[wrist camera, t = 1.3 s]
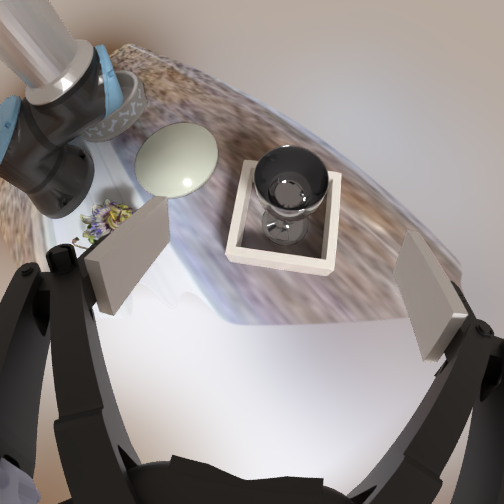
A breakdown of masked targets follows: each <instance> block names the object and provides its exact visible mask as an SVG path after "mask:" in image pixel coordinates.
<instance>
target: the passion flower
mask: <svg viewBox="0 0 504 504" xmlns="http://www.w3.org/2000/svg"><path fill="white" fill-rule="evenodd" d="M132 213H133V212H132V208H129V207H128V206H127V205H123V203H122V205H121V204H117V203H116V202H115V203H114V202H112V203H111V202H110V200H108V199H106V200H105V204H103V206H101V205H97V204H94V205H93V208H92V214H93V215H94V216H90V217H89V216H87V217H86V216H84V215H82V214H81V215H80V218H81V220H82V222H84V223H85V224H90V225H88V227H87V231H84V232H83V237H86V238H89V239H88V240H89V241H90V242H91V243H92V244H94V243H95V242H96V241H97V240H98V239H99V238H100V237H102V236H104V235H106V234H108V233H112V232H113V231H114V230H115V229H116V228H118V227H119V226H120V225H121V224H122V223H123V222H124V221H126V220H127V219H128V218H129V217H130V216H131V215H132ZM78 240H79V238H77V237H76V238H75V239H73V241H72V243H73V245H74V246H77V247H79V248H83V249H89V248H85V247H81V246H78V245H75V244H74V243H76V241H78Z"/></svg>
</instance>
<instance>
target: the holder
mask: <svg viewBox="0 0 504 504" xmlns="http://www.w3.org/2000/svg"><path fill="white" fill-rule="evenodd" d="M257 163H258V161H253V160H244V162H243V167H242V172H241V177H240V181H239V186H238V191H237V196H236V201H235V206H234V211H233V216H232V221H231V226H230V231H229V236H228V241H227V247H226V252H225V255H226V256H227V258H228V259H229V261H230V262H235V263H242V264H248V265H255V266H261V267H268V268H275V269H281V270H288V271H295V272H302V273H309V274H315V275H322V276H328V275H329V274H330V273H331V272H332V271H334V266H335V256H336V246H337V234H338V222H339V207H340V190H341V173H337V172H331V171H328V175H329V184H328V188H327V192H326V193H327V201H326V213H325V224H324V234H323V244H322V253H321V259H317V258H310V257H303V256H297V255H290V254H283V253H276V252H270V251H263V250H256V249H249V248H243V247H241V244H242V238H243V233H244V227H245V222H246V216H247V211H248V205H249V200H250V195H251V189H252V184H253V183H254V172H255V168H256V165H257Z"/></svg>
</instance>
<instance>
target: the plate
mask: <svg viewBox="0 0 504 504" xmlns="http://www.w3.org/2000/svg"><path fill="white" fill-rule="evenodd" d="M217 163H218V148H217V144H216V141H215V139H214V137H213V136H212V134H211V133H210V132H209V131H208V130H207V129H205V128H204V127H202V126H200V125H197V124H193V123H177V124H172V125H169V126H166V127H164V128H162V129H160V130H158V131H157V132H155V133H154V134H153V135H151V136H150V137H149V138H148V139H147V140H146V141H145V143H144V144H143V145H142V147H141V148H140V150H139V152H138V154H137V157H136V161H135V174H136V177H137V180H138V182H139V183H140V185H141V186H142V187H143V188H144V189H145V190H146V191H147V192H148V193H150V194H151V195H153V196H165V197H167V199H174V198H180V197H183V196H186V195H189V194H191V193H193V192H194V191H196V190H198V189H199V188H200V187H202V186H203V185H204V184H205V183H206V182H207V181H208V180H209V178H210V177H211V176H212V174H213V173H214V171H215V169H216V166H217Z"/></svg>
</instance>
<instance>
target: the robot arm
mask: <svg viewBox="0 0 504 504" xmlns="http://www.w3.org/2000/svg"><path fill="white" fill-rule="evenodd" d="M0 59H1V61H2V62H4V63H5V64H6V65H7V66H8V67H9V68H10V69H11V70H12V71H13V72H14V73H15V74H16V75H17V76H18V77H19V78H20V79H21V80H22V81H23V82H24V83H25V84H26V89H25V95H26V97H25V98H23V99H22V100H21V98H20V97H19V96H16V95H12V96H10V97H8V98H7V99H5V100H4V101H3V102H2V103H1V104H0V177H1V178H3V179H4V180H6V181H7V182H9V183H11V184H12V185H14V186H15V187H17V188H19V189H20V190H22V191H23V192H25V193H26V194H27V195H28V196H29V198H30V199H31V201H32V202H33V204H34V205H35V206H36V208H37V209H38V210H39V211H40V212H41V213H42V214H44V215H45V216H47V217H49V218H52V219H58V218H62V217H65V216H67V215H68V214H70V213H71V212H73V211H74V210H75V209H76V208H77V207H78V206H79V205H80V204H81V202H82V201H83V200H84V198H85V197H86V195H87V193H88V191H89V189H90V187H91V184H92V181H93V176H94V165H93V161H92V159H91V158H90V156H89V155H88V154H87V153H86V152H85V151H84V150H82V149H81V148H78V147H76V146H73V145H70V144H67V143H68V142H70V141H71V140H73V139H74V138H76V137H77V136H79V135H80V134H82V133H83V132H85V131H86V130H88V129H89V128H91V127H92V126H94V125H95V124H97V123H99V122H100V121H102V120H103V119H106V118H107V117H108V116H109V115H110V114H111V113H113V112H114V111H116V110H117V109H119V108H120V107H121V106H122V104H123V101H124V96H123V93H122V90H121V87H120V85H119V82H118V79H117V77H116V74H115V72H114V69H113V66H112V63H111V61H110V58H109V55H108V53H107V50H106V48H105V46H104V45H98V46H95V47H92V45H91V44H90V43H89V42H88V41H86V40H82V39H81V40H80V39H78V40H74V38H73V37H72V36H71V34H70V32H69V31H68V29H67V28H66V26H65V25H64V23H63V22H62V20H61V19H60V17H59V16H58V14H57V13H56V11H55V10H54V8H53V7H52V5H51V3H50V2H49V0H0ZM169 241H170V231H169V217H168V199H167V197H165V196H154V197H153V198H152V199H150V200H149V201H148V202H147V203H146V204H144V205H143V206H142V207H141V208H140V209H138V210H137V211H136V212H135V213H134V214H132V215H131V216H130V217H129V218H128V219H127V220H126V221H124V222H123V223H122V224H121V225H120V226H119V227H118V228H116V229H115V230H114V231H113V232H112V233H108V234H106V235H104V236H102V237H100V238H99V239H98V240H97V241H96V242H95V243H94V244H93V245H91V246H90V247H89V249H87V250H86V251H85V252H84V253H83V254H82V255H81V256H80V257H79V258H77V257H76V253H75V249H74V247H73V245H71V244H60V245H57V246H55V247H53V248H51V249H50V250H49V251H48V252H47V254H46V259H47V262H48V265H49V268H50V271H51V272H41V270H40V267H39V265H38V264H37V263H35V262H31V263H26V264H24V265H22V266H21V267H20V268H18V270H17V271H16V272H15V274H14V276H13V278H12V280H11V282H10V284H9V286H8V288H7V290H6V292H5V294H4V296H3V298H2V300H1V303H0V504H37V503H38V502H40V499H41V496H40V492H39V491H38V490H37V489H36V486H35V484H34V481H33V480H32V479H33V474H34V468H35V459H36V440H37V424H38V414H39V405H40V395H41V389H42V381H43V376H44V370H45V364H46V359H47V354H48V349H49V344H50V340H51V355H52V366H53V376H54V385H55V392H56V400H57V406H58V412H59V419H58V420H55V421H54V432H55V437H56V443H57V447H58V451H59V455H60V460H61V463H62V467H63V471H64V475H65V478H66V481H67V484H68V487H69V491H70V494H71V497H72V498H70V499H68V500H66V501H63V502H61V503H58V504H432V502H433V500H434V499H435V497H436V496H437V494H438V492H439V491H440V489H441V487H442V482H443V481H442V480H441V479H440V475H441V472H442V471H443V469H444V467H445V465H446V464H447V462H448V460H449V458H450V456H451V454H452V452H453V450H454V448H455V446H456V444H457V442H458V440H459V438H460V436H461V434H462V431H463V429H464V427H465V425H466V422H467V420H468V417H469V415H470V413H471V410H472V408H473V412H472V418H471V425H470V430H469V436H468V441H467V446H466V450H465V455H464V459H463V463H462V467H461V471H460V475H459V479H458V482H457V485H456V489H455V492H454V495H453V498H452V501H451V503H450V504H504V339H502V338H499V337H496V336H494V332H493V330H492V328H491V327H490V326H489V325H488V324H487V323H486V322H484V321H482V320H479V319H476V317H475V315H474V313H473V311H472V310H471V308H470V306H469V304H468V302H467V301H466V299H465V297H464V296H463V293H462V292H461V290H460V288H459V287H458V286H457V285H456V284H455V283H454V282H453V281H450V280H449V278H448V277H447V275H446V273H445V272H444V270H443V268H442V267H441V265H440V264H439V262H438V260H437V259H436V257H435V256H434V254H433V252H432V251H431V249H430V248H429V246H428V245H427V243H426V242H425V240H424V239H423V237H422V236H421V234H420V233H419V232H415V231H409V230H407V232H406V236H405V239H404V242H403V245H402V248H401V251H400V253H399V256H398V259H397V262H396V265H395V267H394V270H393V274H394V277H395V279H396V282H397V284H398V287H399V290H400V292H401V295H402V298H403V300H404V303H405V306H406V309H407V312H408V315H409V318H410V321H411V323H412V326H413V330H414V333H415V336H416V339H417V342H418V345H419V348H420V352H421V356H422V359H423V362H437V361H438V360H439V359H440V357H441V356H442V354H443V353H445V356H446V361H445V362H444V363H443V365H442V366H441V367H440V369H439V370H438V371H437V373H436V374H435V375H434V376H436V378H435V380H434V381H433V383H432V385H431V387H430V389H429V390H428V392H427V394H426V395H425V397H424V399H423V400H422V402H421V404H420V405H419V407H418V408H417V410H416V412H415V413H414V415H413V416H412V418H411V419H410V421H409V422H408V424H407V425H406V427H405V428H404V430H403V431H402V432H401V434H400V435H399V437H398V438H397V439H396V441H395V442H394V444H393V445H392V446H391V448H390V449H389V450H388V452H387V453H386V454H385V455H384V457H383V458H382V459H381V460H380V462H379V463H378V464H377V465H376V467H375V468H374V469H373V470H372V471H371V472H370V474H369V475H368V476H367V477H366V478H365V479H364V480H363V481H362V482H361V484H359V485H358V486H357V487H356V488H354V489H353V490H352V491H351V492H350V493H349V494H348V495H347V496H345V495H344V494H342V493H340V492H338V491H336V490H335V489H332V488H329V487H327V486H323V478H302V477H288V476H285V477H277V478H268V479H258V480H244V479H241V478H239V477H236V476H234V475H231V474H229V473H227V472H225V471H222V470H220V469H218V468H216V467H214V466H211V465H209V464H206V463H202V462H198V461H194V460H190V459H186V458H182V457H178V456H175V455H172V457H171V460H170V461H159V462H158V461H157V462H151V463H146V464H141V462H140V460H139V458H138V456H137V454H136V452H135V450H134V448H133V447H132V445H131V442H130V440H129V437H128V434H127V432H126V429H125V426H124V424H123V421H122V418H121V415H120V412H119V409H118V406H117V403H116V400H115V397H114V394H113V390H112V387H111V383H110V380H109V376H108V373H107V369H106V365H105V361H104V357H103V353H102V349H101V345H100V340H99V336H98V331H97V326H96V321H95V316H94V312H93V309H92V306H93V305H94V304H95V303H96V302H97V305H98V308H99V311H100V312H102V313H106V314H109V315H113V316H114V315H115V313H116V312H117V311H118V309H119V308H120V306H121V305H122V304H123V302H124V301H125V299H126V298H127V297H128V295H129V294H130V293H131V291H132V290H133V288H134V287H135V286H136V284H137V283H138V282H139V280H140V279H141V278H142V276H143V275H144V274H145V272H146V271H147V270H148V268H149V267H150V266H151V264H152V263H153V262H154V261H155V259H156V258H157V257H158V255H159V254H160V253H161V252H162V250H163V249H164V248H165V246H166V245H167V244H168V243H169Z"/></svg>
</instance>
